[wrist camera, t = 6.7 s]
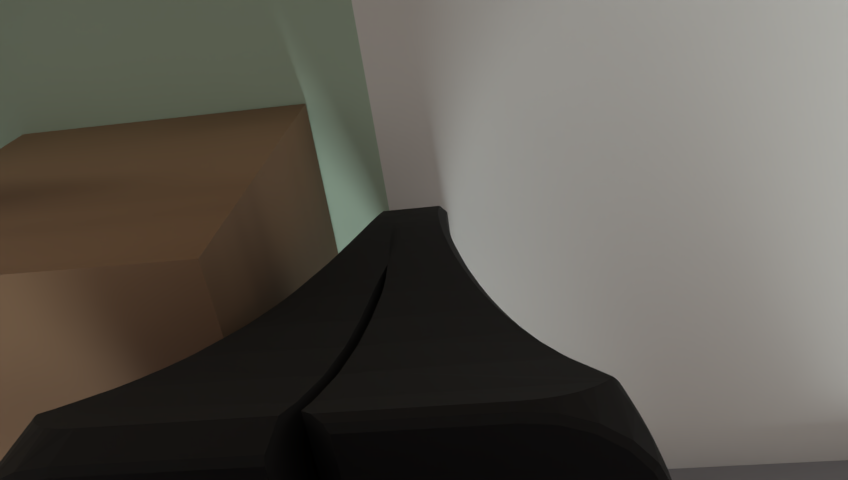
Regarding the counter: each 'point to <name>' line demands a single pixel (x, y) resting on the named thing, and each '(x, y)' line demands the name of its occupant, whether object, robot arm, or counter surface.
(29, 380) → the walnut block
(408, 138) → the box
